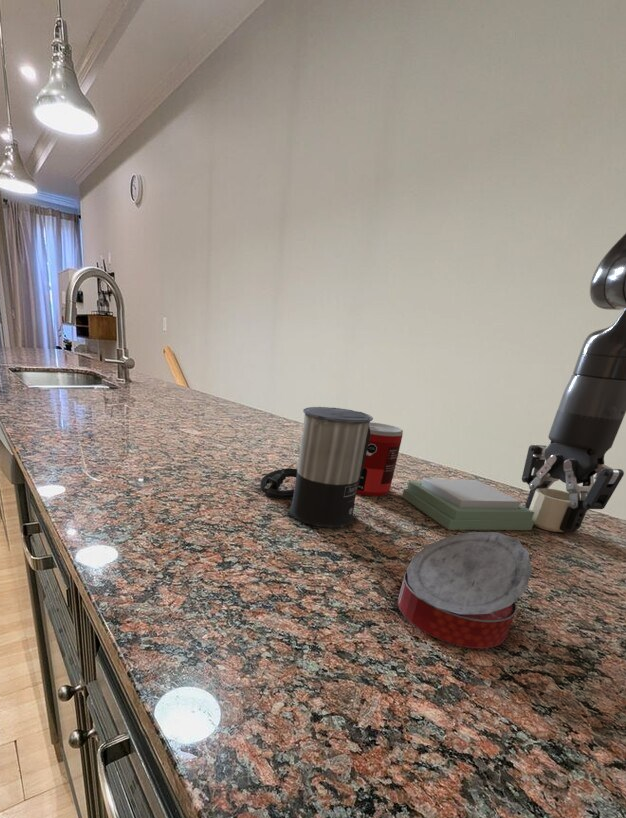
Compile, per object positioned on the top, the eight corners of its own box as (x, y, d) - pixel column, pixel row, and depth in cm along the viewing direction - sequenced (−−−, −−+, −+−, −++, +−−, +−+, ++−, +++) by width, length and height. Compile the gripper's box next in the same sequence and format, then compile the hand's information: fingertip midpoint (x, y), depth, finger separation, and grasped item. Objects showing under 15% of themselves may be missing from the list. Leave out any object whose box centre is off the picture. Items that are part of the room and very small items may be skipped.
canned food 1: (336, 481, 80) (347, 420, 76) (378, 483, 81) (391, 423, 77) (350, 496, 73) (363, 430, 69) (396, 498, 74) (411, 433, 70)
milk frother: (346, 535, 59) (369, 423, 53) (236, 509, 64) (246, 404, 58) (361, 502, 71) (381, 408, 65) (268, 483, 76) (278, 394, 70)
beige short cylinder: (548, 517, 72) (559, 488, 70) (580, 533, 66) (593, 502, 64) (516, 517, 70) (526, 487, 69) (546, 533, 65) (558, 502, 63)
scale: (474, 499, 78) (479, 482, 77) (531, 530, 66) (538, 512, 65) (401, 497, 75) (405, 480, 74) (447, 530, 63) (453, 511, 62)
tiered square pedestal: (473, 488, 75) (476, 479, 75) (517, 511, 66) (521, 501, 66) (420, 486, 73) (422, 478, 73) (458, 510, 64) (461, 500, 64)
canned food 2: (491, 683, 42) (554, 640, 34) (383, 647, 43) (419, 597, 36) (490, 584, 48) (542, 528, 41) (396, 556, 50) (429, 498, 42)
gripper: (665, 423, 56) (612, 543, 62) (568, 404, 69) (532, 504, 75) (617, 420, 55) (567, 543, 61) (527, 401, 68) (494, 504, 74)
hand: (548, 521), depth 68 cm, fingers closed on beige short cylinder, 6 cm apart
